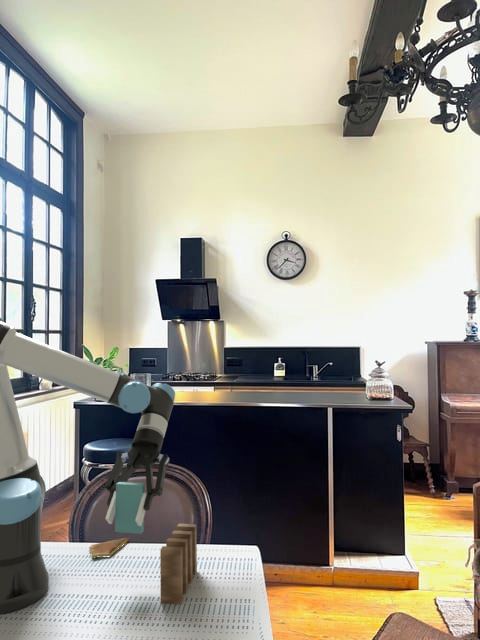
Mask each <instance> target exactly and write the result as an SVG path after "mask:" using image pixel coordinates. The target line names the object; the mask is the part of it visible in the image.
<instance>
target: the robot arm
mask: <svg viewBox="0 0 480 640" xmlns="http://www.w3.org/2000/svg"><path fill="white" fill-rule="evenodd" d="M8 367H10V368H13V369H15V370H19V371H21V372H23V373H26V374H29V375H32V376H34V377H37V378H40V379H42V380H45V381H48V382H51V383H53V384H56V385H58V386H60V387H61V386H62V387H65V388H66V389H69V390H72V391H75V392H77V393H80V394H83V395H86V396H88V397H92V398H93V399H96V400H99V401H102V402H104V403H107V404H110V405H112V406H115V407H118V408H120V409H122V410H123V411H125V412H126V413H129V414H138V413H141V416H140V419H139V422H138V425H137V428H136V431H135V434H134V437H133V440H132V444H131V448H129V449H128V450H127V452H124V453H122V451H117V453H116V459H115V461H114V464H113V466H112V469H111V471H110V473H109V475H108V478H107V479H106V482H105V485H104V488H105V490H106V492H108V494H109V496H108V498H107V503H106V505H107V507H108V510H107V512H106V515H105V520H106V522H107V523H108V524H109V525H113V521H114V520H115V513H116V484H117V483H118V482H128V481H129V480H130V478H131V476H132V475H133V473H135V472H136V471H137V470H139V469H140V470H141V469H143V470H145V482H146V484H145V485H146V486H145V487H146V490H145V491H146V492H144V493H143V495H142V499H141V502H140V506H139V509H138V512H137V516H136V519H135V521H136V523H137V525H138V526H142V522H143V518H144V519H145V515H146V512H147V511H150V509H151V506H152V502H153V499H154V498H155V497H157V496H158V497H161V496H162V494H163V489H164V484H165V478H166V471H167V468H168V465H169V464H170V461H171V460H170V457H169V455H168V453H164V454H161V451H162V447H163V443H164V438H165V435H166V432H167V428H168V423H169V420H170V417H171V414H172V410H173V408H174V405H175V397H176V392H175V390H174V388H173V386H171V385H169V384H168V383H161V382H156V383H154V384H152V385H151V386H150V385H147V384H145V383H144V382H141V381H140V380H138V379H136V378H134V377H132V376H129V375H127V374H126V373H123V372H120V371H118V370H116V371H113V370H111V369H108V368H106V367H104V366H101V365H98V364H96V363H93V362H91V361H89V360H86V359H84V358H81V357H78V356H76V355H73V354H70V353H68V352H66V351H63V350H61V349H58V348H56V347H54V346H52V345H48V344H46V343H44V342H42V341H39V340H36V339H33V338H31V337H29V336H27V335H24V334H21V333H18V332H17V330H16V328H15V326H13V325H11V324H9V323H6V322H5V321H4V320H3V319H2V318H1V317H0V615H1V614H8V613H11V612H15V611H17V610H21V609H24V608H26V607H28V606H30V605H31V604H34V603H36V602H37V601H39V600H41V598H42V597H43V596H44V595H46V593H47V592H48V591H49V587H50V584H49V583H50V579H49V578H50V575H49V572H48V570H47V567H46V564H45V561H44V557H43V555H42V550H41V549H42V547H41V546H42V544H41V543H42V511H43V507H44V501H45V498H46V491H47V490H46V489H47V488H46V483H45V480H44V478H43V477H42V476H41V472H40V468H39V465H38V461H37V459H35V458H33V457H31V456H30V455H29V452H28V447H27V444H26V439H25V435H24V430H23V427H22V422H21V419H20V414H19V411H18V407H17V402H16V397H15V393H14V391H13V386H12V382H11V378H10V372H9V369H8ZM127 459H129V460H128V461H127ZM126 462H127V463H126ZM157 462H159V463H158V469H157V473H156V474H157V475H156V480H155V486H154V474H153V473H154V472H153V471H154V468H153V465H154V464H156V463H157ZM124 463H126V466H125V468H124ZM123 468H124V469H123ZM122 469H123V470H122Z"/></svg>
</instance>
